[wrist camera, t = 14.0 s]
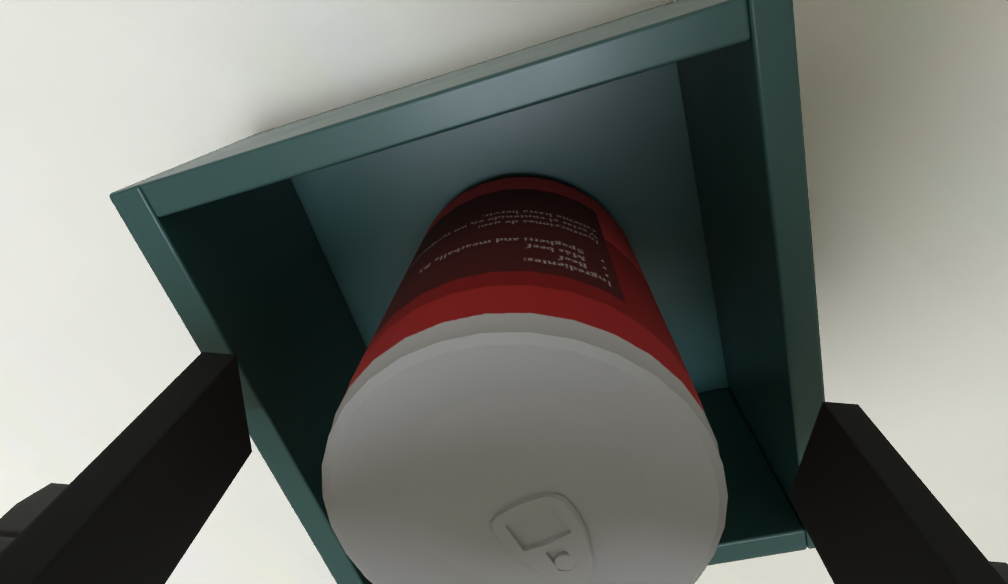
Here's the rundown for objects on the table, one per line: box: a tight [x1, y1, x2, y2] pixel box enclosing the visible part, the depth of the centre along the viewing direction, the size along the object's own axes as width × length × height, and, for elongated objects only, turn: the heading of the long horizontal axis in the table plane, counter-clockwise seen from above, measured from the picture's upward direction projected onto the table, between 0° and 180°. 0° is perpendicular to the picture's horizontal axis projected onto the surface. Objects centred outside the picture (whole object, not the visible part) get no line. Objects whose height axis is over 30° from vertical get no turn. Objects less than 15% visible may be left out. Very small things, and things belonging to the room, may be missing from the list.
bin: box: [110, 0, 825, 584], centre depth 18 cm, size 15×15×8 cm
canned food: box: [322, 177, 728, 584], centre depth 16 cm, size 8×8×11 cm
